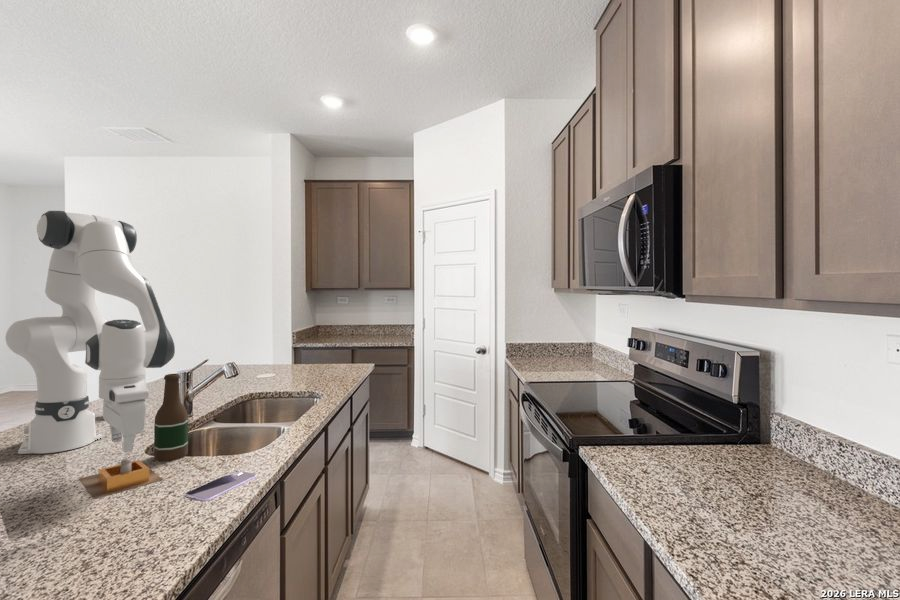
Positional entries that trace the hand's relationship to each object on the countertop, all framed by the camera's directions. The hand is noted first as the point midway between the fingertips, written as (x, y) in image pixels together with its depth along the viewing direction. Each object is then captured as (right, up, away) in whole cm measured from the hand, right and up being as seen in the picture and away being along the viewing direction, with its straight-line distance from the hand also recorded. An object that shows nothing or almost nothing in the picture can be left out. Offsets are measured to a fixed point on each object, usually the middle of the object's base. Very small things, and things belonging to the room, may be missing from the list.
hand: (122, 445), depth 102 cm
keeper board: (0, -10, 0) cm, 10 cm away
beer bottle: (+2, -10, +15) cm, 18 cm away
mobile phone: (+24, -11, +1) cm, 26 cm away
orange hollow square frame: (+1, -8, -1) cm, 8 cm away
